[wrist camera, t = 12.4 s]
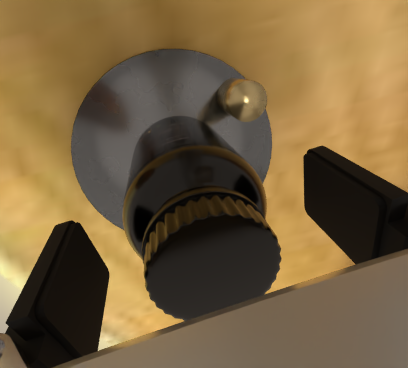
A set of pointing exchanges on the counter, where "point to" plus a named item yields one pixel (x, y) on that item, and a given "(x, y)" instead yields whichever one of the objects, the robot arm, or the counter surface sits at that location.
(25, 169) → the counter surface
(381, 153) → the counter surface
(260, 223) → the supplement bottle
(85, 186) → the plate
